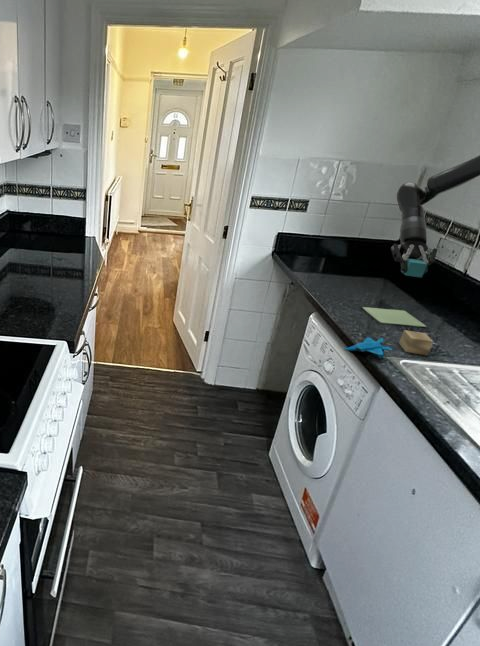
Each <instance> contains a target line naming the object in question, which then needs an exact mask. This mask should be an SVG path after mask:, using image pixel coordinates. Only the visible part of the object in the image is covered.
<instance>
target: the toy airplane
mask: <svg viewBox="0 0 480 646" xmlns="http://www.w3.org/2000/svg"><path fill="white" fill-rule="evenodd" d="M384 342H385V341H384V337H381V338H379V339H378V340H377V341H375V340H373V339H372V338H371V337H365V338H364V340H363V341H362V342H360V343H357V344H356V343H355V344H354V345H351V346H349V347H346V348H344V349H343V351H347V352H360V353H361V352H367V353H370V354H373V355H376V357H377V358H378V359H379V360H380V359H384V358H385V350H386V351H394V348H391V347H390V346H385V345H384V344H383V343H384Z"/></svg>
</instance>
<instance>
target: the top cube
mask: <svg viewBox="0 0 480 646" xmlns="http://www.w3.org/2000/svg"><path fill="white" fill-rule="evenodd" d="M407 261H408V271H407V272H406V273H403V272H402V271H401V270H400V272H401V273H402V274H403V275H404V276H407V277H416V278H423V276H424V275H423V273H424V271H425V268H426V266H427V264H426V263H425V262H423V261H422V260H417V259H416V258H410V257H408V259H407Z"/></svg>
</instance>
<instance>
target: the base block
mask: <svg viewBox="0 0 480 646" xmlns="http://www.w3.org/2000/svg"><path fill="white" fill-rule="evenodd" d="M433 343H434V340H432V338H431V337H430V336H429V335H428V334H427V333H425V332H420V331H413V330H406V329H404V330H403V332H402V335H401V338H400V340H399V342H398V344H399V346H400V347H401V348H402V349H403V351H404V352H405V353H409V354H416V355H421V356H422V355H423V356H428V355H429V353H430V351H431V349H432V346H433Z"/></svg>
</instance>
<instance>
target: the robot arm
mask: <svg viewBox="0 0 480 646" xmlns="http://www.w3.org/2000/svg"><path fill="white" fill-rule="evenodd" d="M478 177H480V154H479V155H477V156H475V157H473V158H471V159H469V160H467V161H464V162H462V163H459V164H457V165H455V166H452V167H450V168H447V169H445V170H443V171H441V172H438V173H436V174H434V175H432V176H429V178H428V179H427V180H426V186H424V187H422V186H419V184H417V183H415V182H413V181H408V182H404V183H402V184H401V185H400V186H399V187H398V189H397V191H396V202H397V206H398V209H399V211H400V227H399V233H400V244H397V243H394V244H393V245H392V246H391V247H390V252H391V255H392V258H393V261H394V262H396V263H397V262H399V264H400V272H401V271H402V272H403V273H406V272H407V271H408V261H407V259H408V258H414V259H417V260H422V261H423V262H425V263H426V264H427V266H426V268H425V271H424V273H423V276H424V275H426V274H427V273H428V271H429V270H428V269H429V266H431V265H432V264H433V263H435V261H436V257H437V253H438V248H433V249H432V248H430V247H429V246H428V245H427V241H428V240H427V237H428V236H427V223H426V214H425V208H424V205H425V204H428V203H429V202H431V200H433V199H435V198H436V197H438V196H439V195H441V194H443V193H446V192H448V191H451V190H454V189H456V188H458V187H461V186H463V185H465V184H467V183H469V182H471V181H473V180H474V179H476V178H478ZM400 250H401V251H400ZM401 252H402V253H403V254H401ZM426 253H427V254H426ZM402 272H401V273H402ZM403 273H402V274H403Z"/></svg>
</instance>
